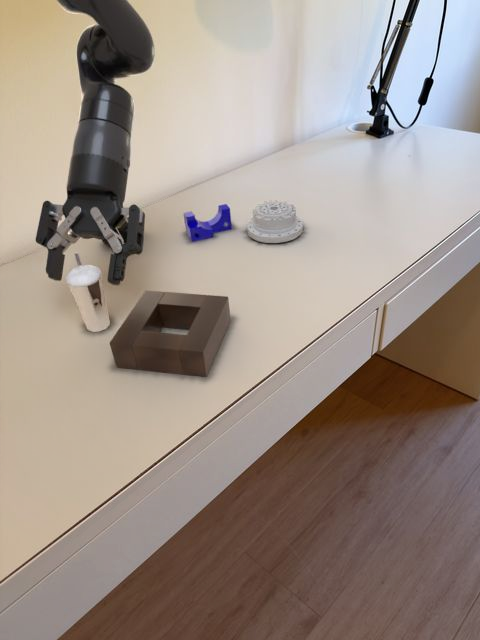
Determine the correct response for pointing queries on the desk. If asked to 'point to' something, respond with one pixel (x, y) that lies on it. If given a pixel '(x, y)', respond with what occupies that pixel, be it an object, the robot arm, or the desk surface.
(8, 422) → the desk surface
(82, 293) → the milkshake
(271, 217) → the mechanical component
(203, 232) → the cable holder
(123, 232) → the tape measure
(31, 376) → the desk surface
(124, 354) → the socket block
